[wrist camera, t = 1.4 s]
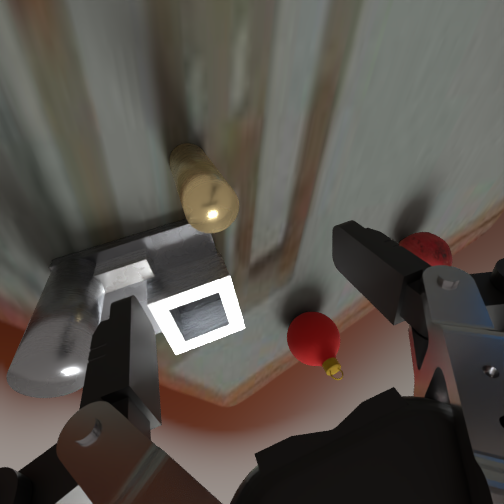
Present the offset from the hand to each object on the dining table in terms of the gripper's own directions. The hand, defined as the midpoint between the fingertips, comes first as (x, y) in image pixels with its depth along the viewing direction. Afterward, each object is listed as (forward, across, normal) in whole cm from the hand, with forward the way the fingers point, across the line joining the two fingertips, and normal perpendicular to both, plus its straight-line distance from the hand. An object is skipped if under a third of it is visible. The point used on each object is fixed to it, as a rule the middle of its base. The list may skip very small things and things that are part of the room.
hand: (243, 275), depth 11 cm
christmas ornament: (+17, -9, +26) cm, 32 cm away
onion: (+17, -25, +18) cm, 35 cm away
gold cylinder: (+17, 0, 0) cm, 17 cm away
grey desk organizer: (+17, +7, +11) cm, 21 cm away
